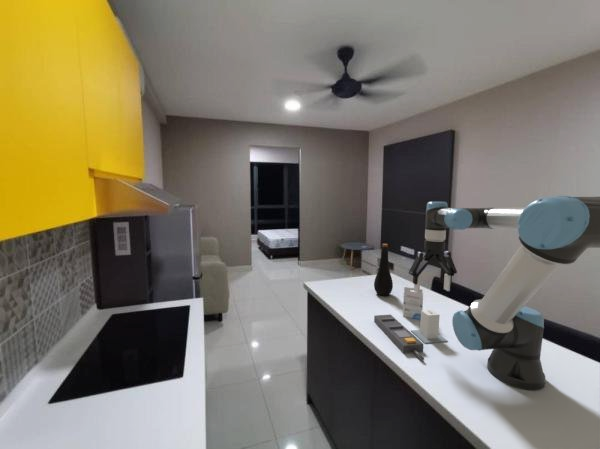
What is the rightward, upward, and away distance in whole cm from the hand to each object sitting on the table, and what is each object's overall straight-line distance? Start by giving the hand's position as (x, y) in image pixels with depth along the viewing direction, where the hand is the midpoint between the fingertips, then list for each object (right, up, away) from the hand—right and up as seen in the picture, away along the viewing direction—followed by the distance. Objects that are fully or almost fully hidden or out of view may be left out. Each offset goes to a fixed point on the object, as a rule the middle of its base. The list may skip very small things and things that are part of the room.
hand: (431, 291), depth 115 cm
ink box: (0, -17, +21) cm, 27 cm away
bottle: (-5, -14, +50) cm, 52 cm away
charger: (-1, -19, +1) cm, 19 cm away
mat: (-1, -19, +1) cm, 19 cm away
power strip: (-13, -19, -1) cm, 24 cm away
